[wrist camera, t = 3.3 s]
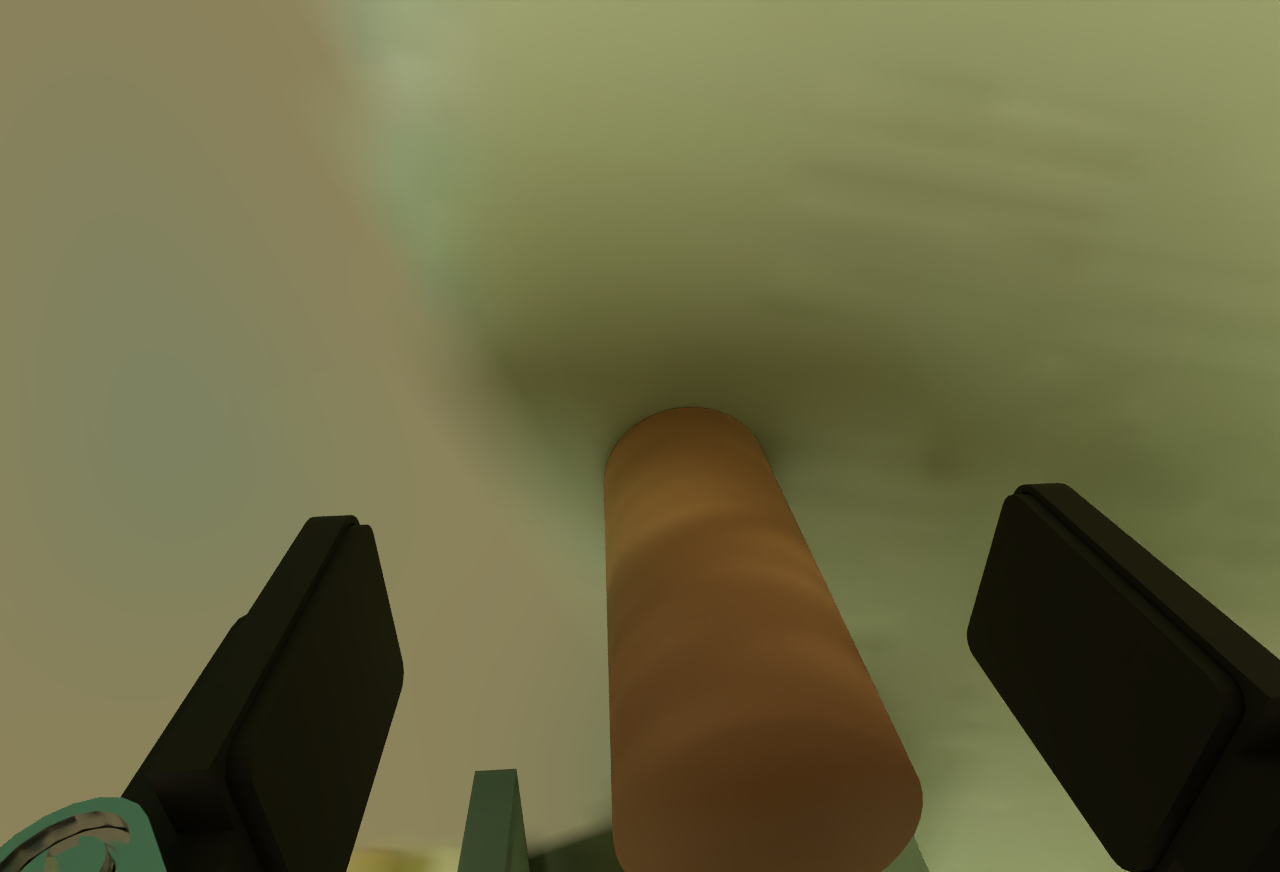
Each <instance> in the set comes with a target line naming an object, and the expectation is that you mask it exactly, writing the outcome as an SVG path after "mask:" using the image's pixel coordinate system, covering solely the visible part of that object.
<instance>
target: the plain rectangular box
mask: <svg viewBox="0 0 1280 872" xmlns="http://www.w3.org/2000/svg"><path fill="white" fill-rule="evenodd" d="M458 872H530V868H529V860H528V853H527V845H526V838H525V830H524V823H523V815H522V808H521V801H520V793H519V786H518V779H517V771H516V769H507V770H490V771H475V775H474V781H473V786H472V792H471V798H470V804H469V809H468V815H467V821H466V826H465V832H464V838H463V843H462V849H461V855H460V860H459V866H458ZM882 872H929V871H928V868H927V866H926V864H925V861H924V859H923V857H922V854H921V852H920V850H919V847H918V845H917V843H916V840H915V838H914V836H912V838H911V840H910V841H909V843H908V845H907V846H906V847H905V848H904V850H903V851H902V852H901V853H900V855H899V856H898V857H897V858H896V859H895V860H894V861H893V862H892V863H891V864H890V865H889V866H888V867H887V868H885V869H884V870H883V871H882Z"/></svg>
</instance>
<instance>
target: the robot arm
mask: <svg viewBox="0 0 1280 872" xmlns="http://www.w3.org/2000/svg"><path fill="white" fill-rule="evenodd" d="M967 640H968V645H969V648H970V651H971V653H972V654H973V656H974V658H975V659H976V660H977V662H978V663H979V665H980V666H981V668H982V669H983V671H984V672H985V674H986V675H987V677H988V678H989V679H990V681H991V682H992V684H993V685H994V687H995V688H996V690H997V691H998V693H999V694H1000V696H1001V697H1002V698H1003V700H1004V701H1005V703H1006V704H1007V706H1008V707H1009V709H1010V710H1011V712H1012V713H1013V715H1014V716H1015V717H1016V719H1017V720H1018V722H1019V723H1020V725H1021V726H1022V728H1023V729H1024V731H1025V732H1026V734H1027V735H1028V736H1029V738H1030V739H1031V741H1032V742H1033V744H1034V745H1035V747H1036V748H1037V750H1038V751H1039V753H1040V754H1041V755H1042V757H1043V758H1044V760H1045V761H1046V763H1047V764H1048V766H1049V767H1050V769H1051V770H1052V772H1053V773H1054V774H1055V776H1056V777H1057V779H1058V780H1059V782H1060V783H1061V785H1062V786H1063V788H1064V789H1065V791H1066V792H1067V793H1068V795H1069V796H1070V798H1071V799H1072V801H1073V802H1074V804H1075V805H1076V807H1077V808H1078V810H1079V811H1080V812H1081V814H1082V815H1083V817H1084V818H1085V820H1086V821H1087V823H1088V824H1089V826H1090V827H1091V829H1092V830H1093V831H1094V833H1095V834H1096V836H1097V837H1098V839H1099V840H1100V842H1101V843H1102V845H1103V846H1104V848H1105V849H1106V850H1107V852H1108V853H1109V855H1110V856H1111V858H1112V859H1113V860H1114V861H1115V862H1116V864H1117V865H1119V866H1120V867H1121V868H1122V869H1124V870H1127V871H1130V872H1280V660H1279V659H1278V658H1277V657H1276V656H1275V655H1273V654H1272V653H1271V652H1270V651H1268V650H1267V649H1266V648H1265V647H1264V646H1262V645H1261V644H1260V643H1259V642H1258V641H1256V640H1255V639H1254V638H1253V637H1251V636H1250V635H1249V634H1248V633H1247V632H1245V631H1244V630H1243V629H1242V628H1241V627H1239V626H1238V625H1237V624H1236V623H1234V622H1233V621H1232V620H1231V619H1230V618H1228V617H1227V616H1226V615H1225V614H1223V613H1222V612H1221V611H1220V610H1219V609H1217V608H1216V607H1215V606H1214V605H1213V604H1211V603H1210V602H1209V601H1208V600H1206V599H1205V598H1204V597H1203V596H1202V595H1200V594H1199V593H1198V592H1197V591H1196V590H1194V589H1193V588H1192V587H1191V586H1189V585H1188V584H1187V583H1186V582H1185V581H1183V580H1182V579H1181V578H1180V577H1179V576H1177V575H1176V574H1175V573H1174V572H1172V571H1171V570H1170V569H1169V568H1168V567H1166V566H1165V565H1164V564H1163V563H1162V562H1160V561H1159V560H1158V559H1157V558H1155V557H1154V556H1153V555H1152V554H1151V553H1149V552H1148V551H1147V550H1146V549H1145V548H1143V547H1142V546H1141V545H1140V544H1138V543H1137V542H1136V541H1135V540H1134V539H1132V538H1131V537H1130V536H1129V535H1128V534H1126V533H1125V532H1124V531H1123V530H1121V529H1120V528H1119V527H1118V526H1117V525H1115V524H1114V523H1113V522H1112V521H1111V520H1109V519H1108V518H1107V517H1106V516H1104V515H1103V514H1102V513H1101V512H1100V511H1098V510H1097V509H1096V508H1095V507H1094V506H1092V505H1091V504H1090V503H1089V502H1087V501H1086V500H1085V499H1084V498H1083V497H1081V496H1080V495H1079V494H1078V493H1077V492H1075V491H1074V490H1073V489H1072V488H1070V487H1069V486H1067V485H1065V484H1062V483H1048V484H1026V485H1022V486H1019V487H1018V488H1017V489H1016V490H1015V492H1014V494H1013V495H1010V496H1008V497H1007V498H1006V499H1005V501H1004V503H1003V506H1002V510H1001V513H1000V517H999V520H998V524H997V527H996V531H995V534H994V538H993V541H992V545H991V548H990V552H989V555H988V559H987V562H986V566H985V569H984V573H983V576H982V580H981V583H980V587H979V590H978V594H977V597H976V601H975V604H974V608H973V611H972V615H971V618H970V622H969V625H968V629H967ZM403 674H404V670H403V661H402V656H401V652H400V648H399V643H398V639H397V634H396V630H395V626H394V621H393V617H392V613H391V608H390V604H389V600H388V595H387V591H386V587H385V582H384V578H383V573H382V569H381V565H380V561H379V556H378V552H377V547H376V543H375V538H374V534H373V531H372V528H371V527H370V526H369V525H360V524H359V521H358V520H357V518H356V517H355V516H353V515H346V516H322V517H312V518H309V520H308V521H307V522H306V523H305V525H304V526H303V528H302V529H301V531H300V533H299V534H298V536H297V537H296V539H295V540H294V542H293V543H292V545H291V546H290V548H289V550H288V551H287V553H286V554H285V556H284V557H283V559H282V561H281V562H280V564H279V565H278V567H277V568H276V570H275V571H274V573H273V575H272V576H271V578H270V579H269V581H268V583H267V584H266V586H265V587H264V589H263V590H262V592H261V594H260V595H259V596H258V598H257V600H256V601H255V603H254V604H253V606H252V607H251V609H250V610H249V612H248V614H247V615H245V616H243V617H241V618H239V619H238V620H237V622H236V623H235V624H234V625H233V626H232V627H231V629H230V631H229V632H228V634H227V635H226V637H225V638H224V640H223V641H222V643H221V645H220V646H219V648H218V649H217V650H216V652H215V654H214V655H213V657H212V658H211V660H210V661H209V663H208V664H207V666H206V667H205V669H204V670H203V672H202V673H201V675H200V676H199V678H198V679H197V681H196V683H195V684H194V686H193V687H192V689H191V690H190V692H189V693H188V695H187V696H186V698H185V699H184V701H183V702H182V704H181V705H180V707H179V709H178V710H177V712H176V713H175V715H174V716H173V718H172V719H171V721H170V722H169V724H168V725H167V727H166V728H165V730H164V731H163V733H162V735H161V736H160V738H159V739H158V741H157V742H156V744H155V745H154V747H153V748H152V750H151V751H150V753H149V754H148V756H147V758H146V759H145V761H144V762H143V764H142V765H141V767H140V768H139V770H138V771H137V773H136V774H135V776H134V777H133V779H132V780H131V782H130V783H129V785H128V787H127V788H126V790H125V791H124V793H123V794H122V796H121V797H98V798H94V799H90V800H86V801H82V802H78V803H74V804H71V805H69V806H67V807H64V808H62V809H60V810H58V811H55V812H53V813H51V814H49V815H46V816H44V817H42V818H41V819H39V820H38V821H36V822H35V823H33V824H31V825H30V826H28V827H27V828H25V829H23V830H22V831H20V832H19V833H17V834H15V835H14V836H13V837H12V838H11V839H10V840H8V841H7V842H6V843H5V844H4V845H2V846H1V847H0V872H346V870H347V867H348V864H349V861H350V857H351V854H352V851H353V847H354V844H355V841H356V838H357V834H358V831H359V828H360V824H361V821H362V818H363V814H364V811H365V808H366V805H367V801H368V798H369V795H370V792H371V788H372V785H373V782H374V778H375V775H376V772H377V769H378V765H379V762H380V758H381V755H382V752H383V749H384V745H385V742H386V739H387V736H388V732H389V729H390V726H391V722H392V719H393V716H394V713H395V709H396V706H397V703H398V699H399V696H400V693H401V689H402V685H403Z"/></svg>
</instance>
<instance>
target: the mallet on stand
mask: <svg viewBox="0 0 1280 872" xmlns="http://www.w3.org/2000/svg"><path fill="white" fill-rule="evenodd" d="M604 512H605V550H606V589H607V628H608V667H609V704H610V705H609V706H610V745H611V784H612V823H613V843H614V849H615V853H616V856H617V858H618V861H619V863H620V865H621V867H622V868H623V870H624V872H882V871H883V870H884V869H885V868H887V867H888V866H889V865H890V864H891V863H892V862H893V861H894V860H895V859H896V858H897V857H898V856H899V855H900V853H901V852H902V851H903V850H904V848H905V847H906V846H907V845H908V843H909V841H910V840H911V838H912V836H913V834H914V833H915V831H916V828H917V826H918V823H919V820H920V817H921V811H922V806H923V804H922V790H921V785H920V781H919V779H918V777H917V774H916V772H915V770H914V768H913V766H912V764H911V762H910V760H909V758H908V755H907V753H906V751H905V749H904V747H903V745H902V743H901V741H900V739H899V737H898V734H897V732H896V730H895V728H894V726H893V724H892V722H891V720H890V718H889V716H888V713H887V711H886V709H885V707H884V705H883V703H882V701H881V699H880V697H879V695H878V692H877V690H876V688H875V686H874V684H873V682H872V680H871V678H870V676H869V674H868V671H867V669H866V667H865V665H864V663H863V661H862V659H861V657H860V655H859V652H858V650H857V648H856V646H855V644H854V642H853V640H852V638H851V636H850V634H849V631H848V629H847V627H846V625H845V623H844V621H843V619H842V617H841V615H840V613H839V610H838V608H837V606H836V604H835V602H834V600H833V598H832V596H831V594H830V592H829V589H828V587H827V585H826V583H825V581H824V579H823V577H822V575H821V573H820V571H819V568H818V566H817V564H816V562H815V560H814V558H813V556H812V554H811V552H810V549H809V547H808V545H807V543H806V541H805V539H804V537H803V535H802V533H801V531H800V528H799V526H798V524H797V522H796V520H795V518H794V516H793V514H792V512H791V510H790V507H789V505H788V503H787V501H786V499H785V497H784V495H783V493H782V491H781V489H780V486H779V484H778V482H777V480H776V478H775V476H774V474H773V472H772V470H771V468H770V465H769V463H768V461H767V459H766V457H765V455H764V453H763V451H762V449H761V447H760V444H759V443H758V441H757V440H756V438H755V437H754V435H753V434H752V433H751V432H750V431H749V430H748V429H747V428H746V427H745V426H744V425H743V424H741V423H740V422H739V421H737V420H735V419H734V418H732V417H730V416H728V415H726V414H724V413H721V412H718V411H715V410H711V409H706V408H699V407H684V408H675V409H670V410H666V411H663V412H660V413H657V414H654V415H652V416H650V417H648V418H646V419H644V420H642V421H641V422H639V423H638V424H636V425H635V426H634V427H632V428H631V429H630V430H629V431H628V432H626V434H625V435H624V436H623V437H622V438H621V439H620V440H619V442H618V443H617V444H616V446H615V447H614V449H613V451H612V453H611V455H610V456H609V459H608V462H607V465H606V469H605V474H604Z"/></svg>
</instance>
